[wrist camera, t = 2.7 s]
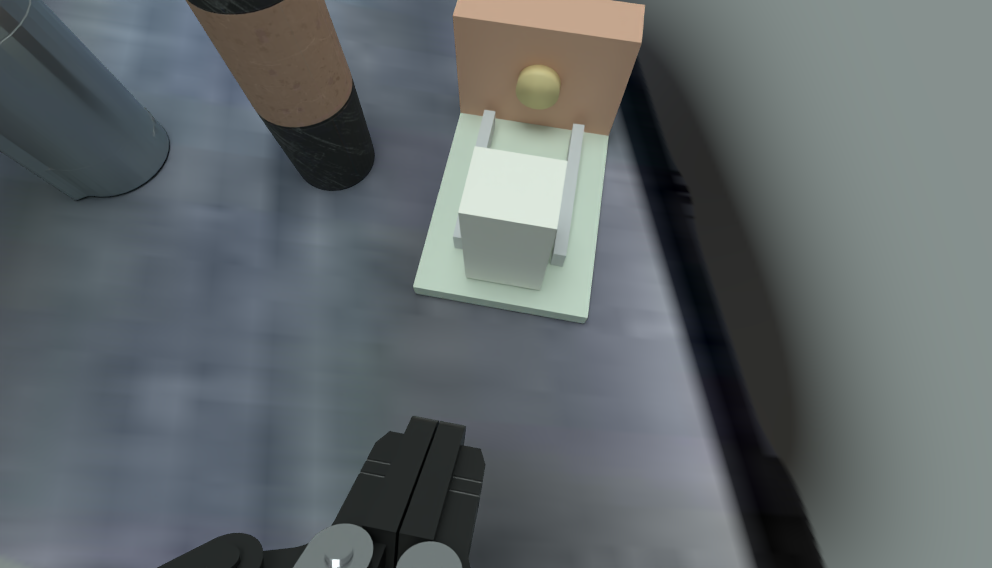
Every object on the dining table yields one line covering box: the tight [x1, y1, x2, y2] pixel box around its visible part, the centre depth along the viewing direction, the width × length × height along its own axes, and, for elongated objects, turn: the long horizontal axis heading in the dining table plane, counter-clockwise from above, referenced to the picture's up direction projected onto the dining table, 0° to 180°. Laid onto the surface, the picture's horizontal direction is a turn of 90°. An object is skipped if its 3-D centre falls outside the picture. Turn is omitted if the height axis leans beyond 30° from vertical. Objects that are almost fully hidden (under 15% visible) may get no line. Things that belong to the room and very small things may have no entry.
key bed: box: [413, 0, 645, 324], centre depth 36 cm, size 22×14×12 cm, turn 169°
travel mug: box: [186, 0, 374, 190], centre depth 34 cm, size 8×8×20 cm
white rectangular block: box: [458, 146, 568, 290], centre depth 33 cm, size 5×6×10 cm
